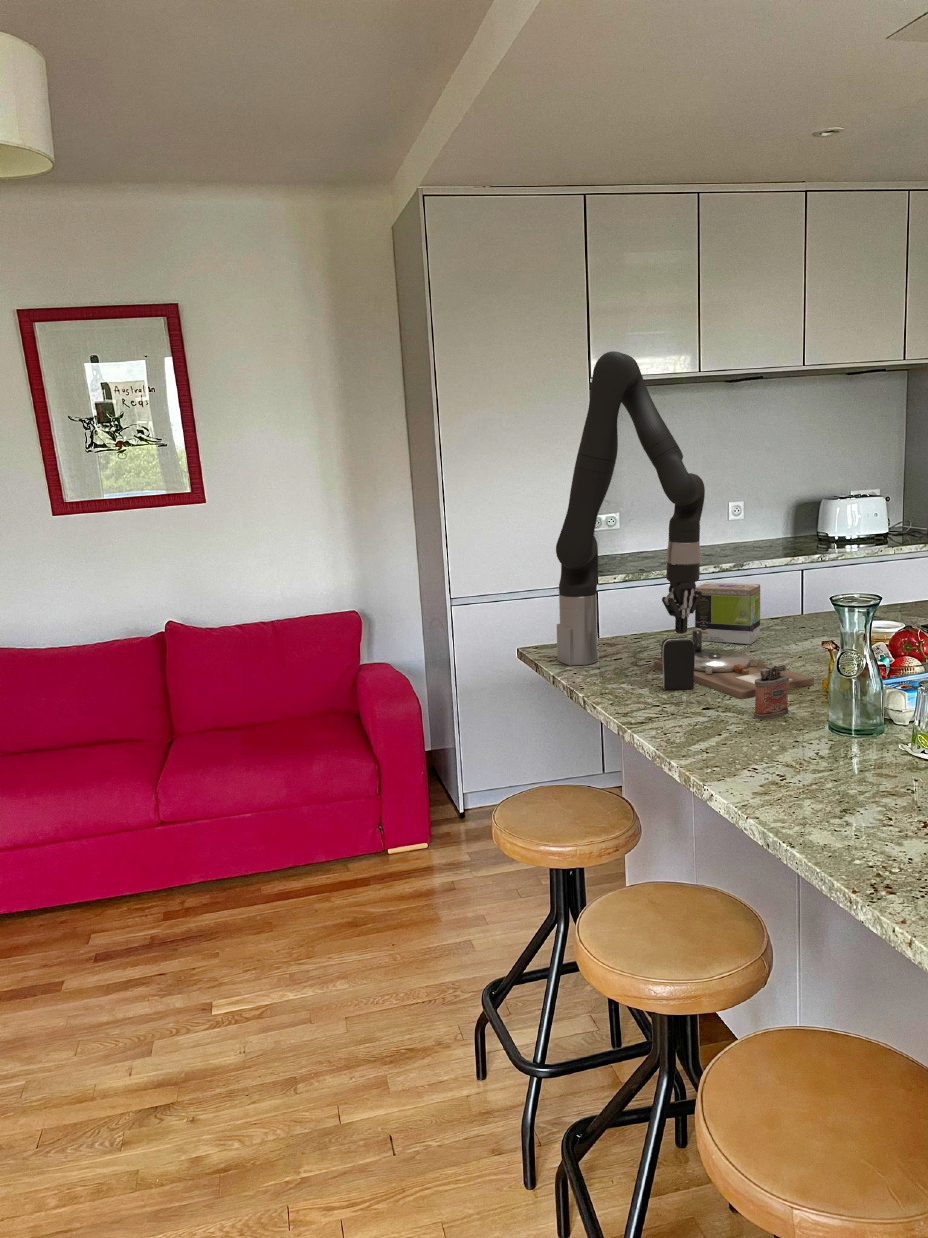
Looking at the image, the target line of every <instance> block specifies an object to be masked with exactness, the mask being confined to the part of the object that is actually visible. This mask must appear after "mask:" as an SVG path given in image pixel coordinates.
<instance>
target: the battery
mask: <svg viewBox="0 0 928 1238" xmlns="http://www.w3.org/2000/svg"><path fill="white" fill-rule="evenodd" d="M660 650H661V651H660V656H661V657H660V660H662V665H663V670H662V688H663V689H664V690H667V691H669V690H671V691H673V690H689V689H694V687H695V684H694V683H695V682H694V663H695V648H694V643H693V641H692V639H690V638H688V637H686V636H685V637H684V636H680V637H679V636H678V637H668V638H665V639H663V641H662V642H661V649H660Z"/></svg>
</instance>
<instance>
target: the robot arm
mask: <svg viewBox="0 0 928 1238" xmlns="http://www.w3.org/2000/svg"><path fill="white" fill-rule="evenodd" d="M591 377H592V378H591V386H590V395H589V403H588V408H587V414H586V418H585V422H584V427H583V429H582V434H581V439H580V443H579V446H578V451H577V455H576V459H575V464H574V468H573V475H572V480H571V486H570V492H569V498H568V500H569V501H568V506H567V509H566V510H567V511H566V513H565V514H566V515H565V517H564V521H563V524H562V528H561V530H560V532H559V536H558V538H557V541H556V545H555V554H556V557H557V559H558V561H559V563H560V564H561V565H560V568H561V569H560V571H561V572H560V580H559V583H558V584H559V585H558V599H559V600H558V604H559V606H558V607H559V608H558V609H559V623H557V624H556V652H557V653H556V654H557V655H556V657H557V658H556V660H557V662H560V663H563V664H564V665H567V666H585V665H591V664H595V663H597V662H598V655H599V654H598V653H599V652H598V612H597V611H598V610H597V609H598V608H597V607H598V605H597V604H598V599H597V598H598V596H597V592H598V591H597V590H598V589H597V588H598V587H597V585H598V579H599V574H598V573H599V551H598V550H599V548H598V547H599V545H598V541H597V538H596V537H595V532H596V531H595V529H596V523H597V520H598V515H599V512H600V510H601V506H602V505H603V502H604V500H605V497H606V495H607V493H608V490H609V488H610V485H611V481H612V479H613V474H614V471H615V467H616V464H617V463H616V461H617V457H618V451H619V449H618V448H619V440H618V418H619V411H620V408H621V405H623V406H624V407H625V409H626V411H627V413H628V414H629V417H630V419H631V422H632V423H633V426H634V429H635V431H636V435H637V437H638V440H639V443H640V444H641V447H642V448H643V450H644V453H646V456H647V458H648V459H649V461H650V463H651V465H653V467H654V469H655V471H656V473H657V477H658V479H659V482H660V484H661V488H662V490H663V493H664V494H665V496H666V497H667V499H668V500H669V501H670V502H671V503H672V504H674V511H673V515H672V517H670V519H669V523H668V524H669V525H668V543H667V544H668V545H667V550H666V580H667V581H668V582H669V587H668V594H667V595H666V596H662V598H661V601H662V604H663V606H664V607H665V609H666V611H667V613H668V615H669V616H670V617H674V618H675V620H674V621H675V623H674V625H675V626H674V629H675V633H676V634H681V635H683V634H685V633H687V632H688V621H689V620H688V619H689V617H690V615H691V614H695V608H696V606H697V604H698V602H699V600H700V597H701V595H702V592H701V591H697V590H696V587H697V584H696V582H698V581H699V580H700V565H701V546H700V538H701V537H700V536H701V534H700V533H701V518H702V513H703V509H704V503H705V496H706V495H705V493H706V491H705V489H706V488H705V484H704V481H703V479H702V478H701V477H700V476H699V475H698V474H696V473H689V472H688V470H687V467H686V466H685V464H684V462H683V459H684V454H683V452H682V450H681V448H680V446H679V444H678V443H677V441H676V439H675V438H674V436H673V435H672V433H671V431H670V428H668V426H667V424H666V423H665V421H664V419H663V418H662V416H661V414H660V413H659V411H658V409H657V407H656V405H655V403H654V401H653V399H652V396H651V395H650V393H649V390H648V388H647V385H646V383H645V380H644V377H643V374H642V372H641V369H640V367H639V364H638V363H637V361H636V359H634V357H632V356H631V355H628V354H626V353H622V352H620V351H608V352H606V353H603V354H602V355H601V356H600V357H599V358H598V360H597V361H596V362H595V364H594V368H593V372H592V375H591Z"/></svg>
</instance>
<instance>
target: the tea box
mask: <svg viewBox="0 0 928 1238" xmlns="http://www.w3.org/2000/svg"><path fill="white" fill-rule="evenodd" d="M696 590H697V591H701V592H702V595H701V597H700V600H699V602H698V604H697V606H696V608H695V611H694V618H695V619H694V630H701V631H702V642H716V643H731V644H741V645H742V644H745V645H751V644H753V643H754V642H756V639H757V640H758V639H760V635H761V583H760V584H759V583H738V582H737V583H734V582H707V581H706V582H705V583H702V584H701V585H698V586H696Z"/></svg>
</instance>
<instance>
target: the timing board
mask: <svg viewBox="0 0 928 1238" xmlns="http://www.w3.org/2000/svg"><path fill="white" fill-rule="evenodd" d="M653 664H654V666H653V667H654V669H655V668H656V669H658V670H660V671H663V665H662V660H661V659H658V660H655V661H653ZM768 665H769V666H773V667H774V666H775V665H772V664H768V663H765V662H761V661H759V660H758V662H757V666H749V667H748V668H746V669H743V670H742V673H737V672H735V671H733V672H713V673H712V674H706V672H703V671H696V670H694V683H696V684H699V685H702V686H704V687H707V688H709V689H713V690H716V691H718V692H721V693H724V694H727V695H729V696H732V697H734V698H738V699H741V700H744V699H745V700H746V699H749V698H754V697H755V695H756V685H755V680H756V679H759V678H761V675H760V670H761V669H765V668H766V666H768ZM780 673H781V674H783V675H788V676H789V681H788V691H789V690H793V689H798V688H804V687H808V686H809V687H810V686H814V684H815V683H814V682H815V681H814V680H815V678H814V677H811V676H808V675H806V674H805V675H804V674H801V673H798V672H795V671H791V670H789V669H786V671H783V672H780Z"/></svg>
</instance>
